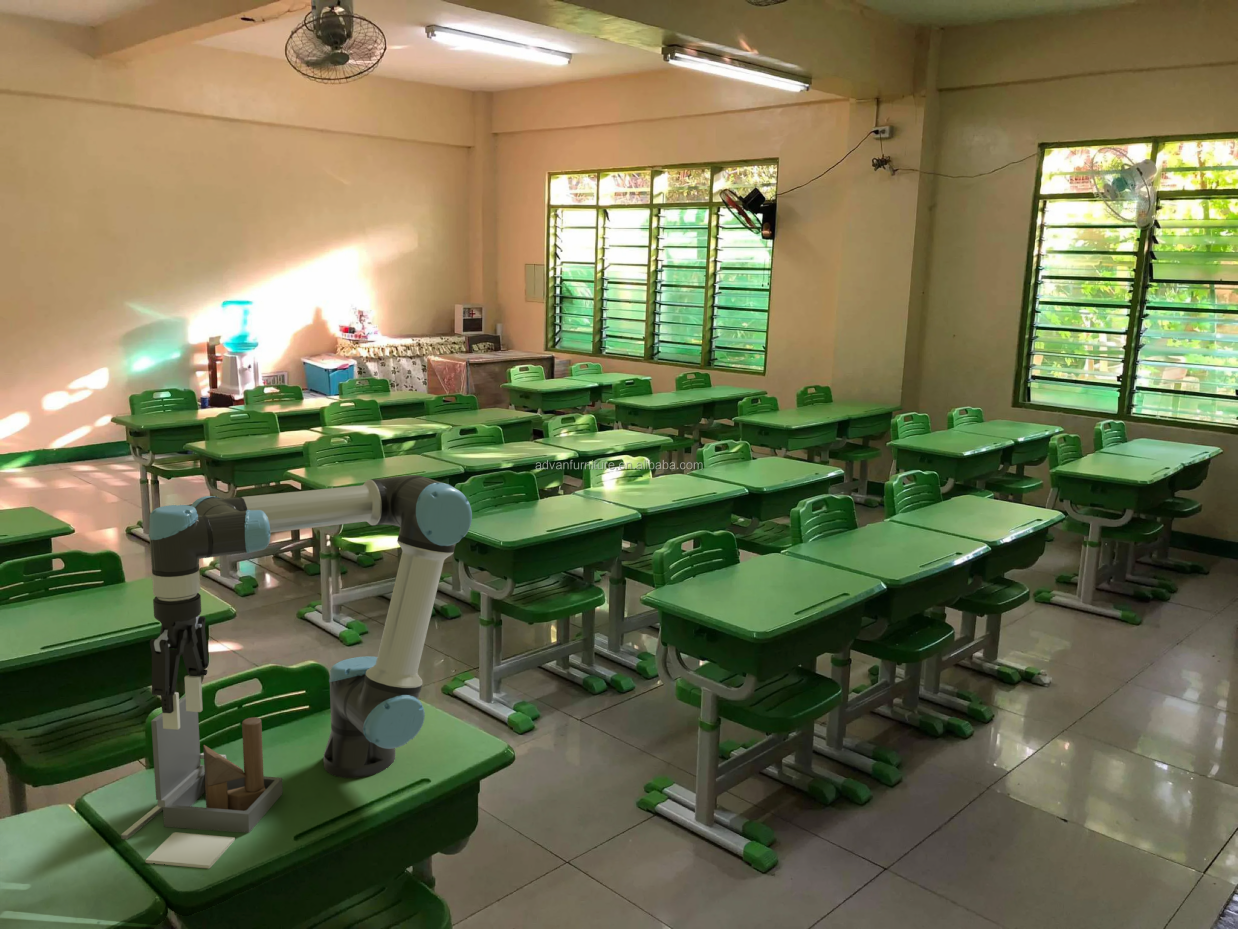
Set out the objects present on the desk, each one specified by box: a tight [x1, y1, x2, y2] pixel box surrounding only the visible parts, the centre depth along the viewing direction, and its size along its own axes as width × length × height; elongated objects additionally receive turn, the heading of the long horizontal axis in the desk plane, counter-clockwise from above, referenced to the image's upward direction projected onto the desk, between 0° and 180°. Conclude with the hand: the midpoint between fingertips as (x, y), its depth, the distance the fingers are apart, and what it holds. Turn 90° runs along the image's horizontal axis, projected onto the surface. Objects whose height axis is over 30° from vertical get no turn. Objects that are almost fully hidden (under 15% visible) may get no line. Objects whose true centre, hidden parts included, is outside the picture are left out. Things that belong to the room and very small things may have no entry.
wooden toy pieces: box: [202, 716, 266, 811], centre depth 186 cm, size 4×11×18 cm, turn 121°
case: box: [150, 695, 284, 833], centre depth 186 cm, size 18×15×21 cm
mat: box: [145, 832, 236, 870], centre depth 173 cm, size 12×9×1 cm
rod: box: [120, 804, 163, 840], centre depth 182 cm, size 12×1×1 cm, turn 171°
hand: (183, 719), depth 169 cm, fingers open, 7 cm apart
